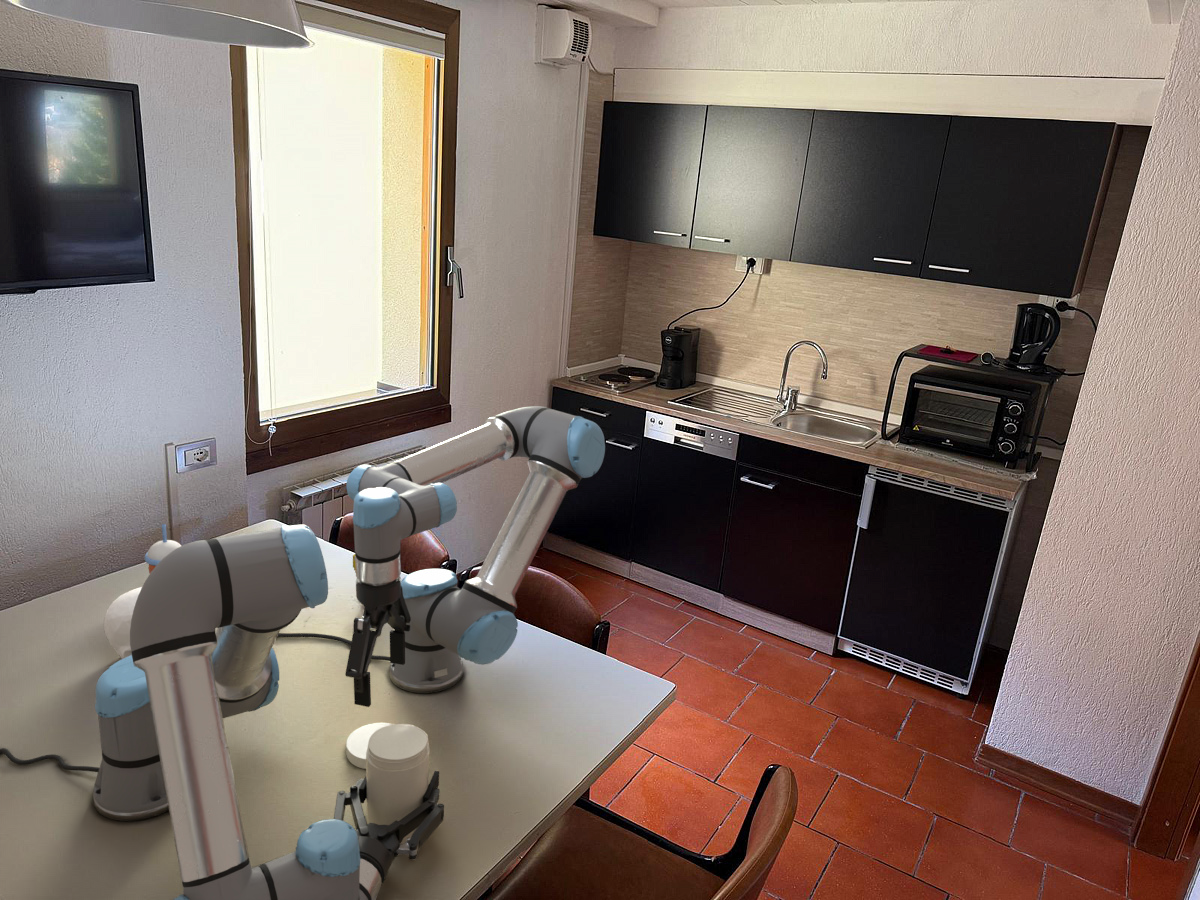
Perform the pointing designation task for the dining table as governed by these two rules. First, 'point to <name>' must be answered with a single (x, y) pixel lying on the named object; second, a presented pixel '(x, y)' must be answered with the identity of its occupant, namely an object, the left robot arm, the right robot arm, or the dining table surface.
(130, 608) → the skull
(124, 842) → the dining table surface
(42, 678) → the dining table surface
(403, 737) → the jar
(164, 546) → the cup with straw
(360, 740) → the lid
